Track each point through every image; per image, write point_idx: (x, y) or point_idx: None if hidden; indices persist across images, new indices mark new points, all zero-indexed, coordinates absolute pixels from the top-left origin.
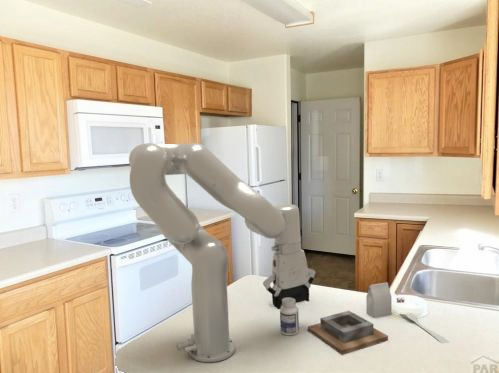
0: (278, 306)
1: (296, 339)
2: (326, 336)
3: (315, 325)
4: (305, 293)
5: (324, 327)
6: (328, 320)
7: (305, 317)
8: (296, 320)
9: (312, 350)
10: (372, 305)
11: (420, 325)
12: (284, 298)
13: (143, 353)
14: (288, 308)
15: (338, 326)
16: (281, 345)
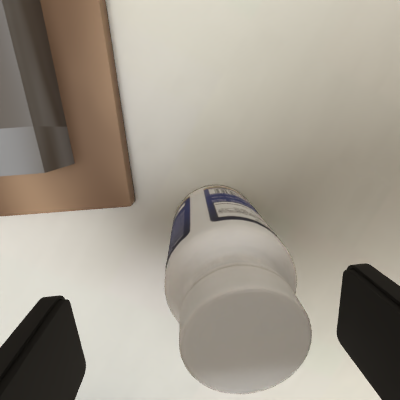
0: (383, 280)
1: (223, 145)
2: (86, 60)
3: (88, 198)
4: (30, 378)
5: (58, 128)
6: (4, 118)
7: (89, 307)
8: (200, 209)
9: (209, 6)
10: None
11: None
12: (262, 385)
13: None
14: (263, 265)
15: None
16: (311, 125)
